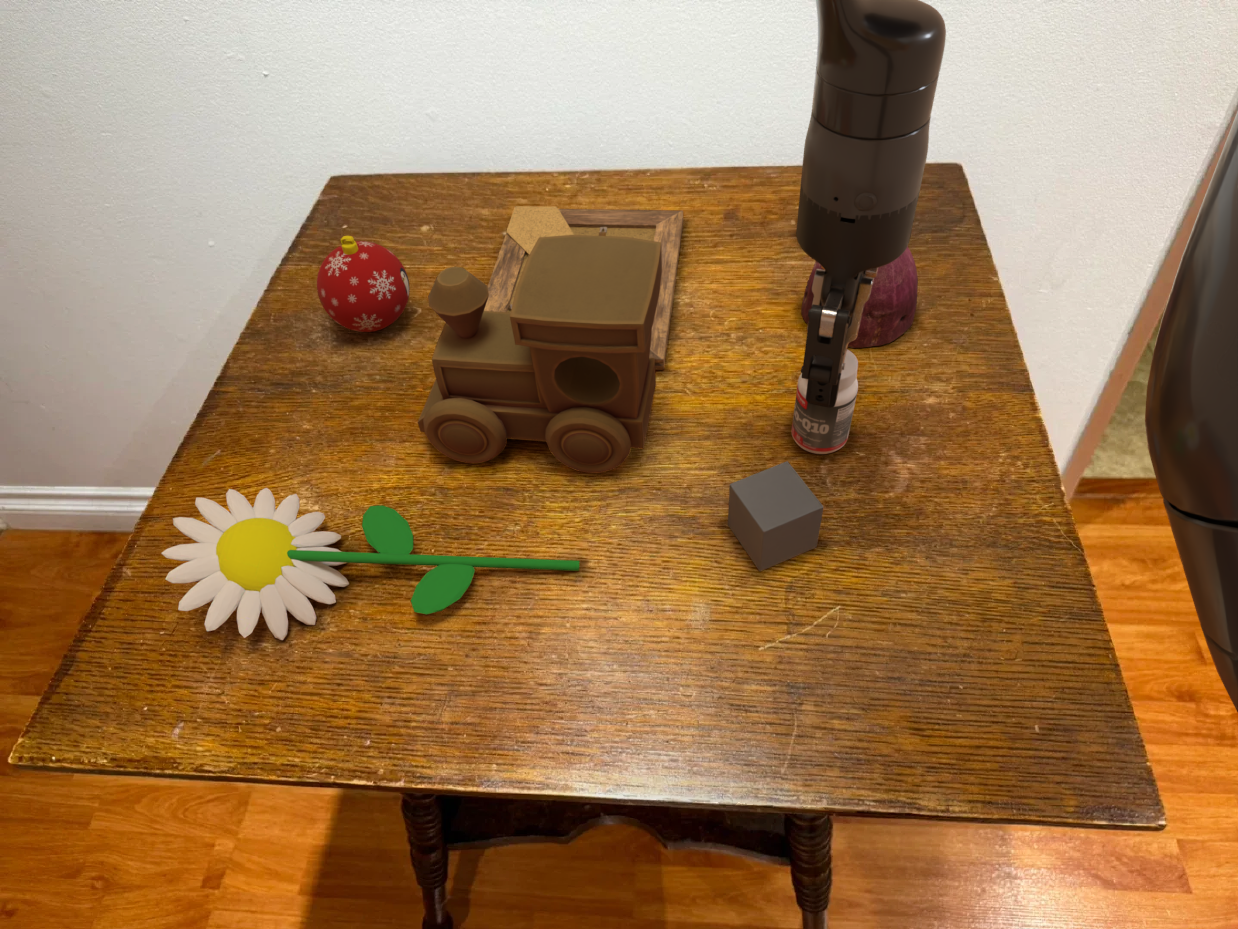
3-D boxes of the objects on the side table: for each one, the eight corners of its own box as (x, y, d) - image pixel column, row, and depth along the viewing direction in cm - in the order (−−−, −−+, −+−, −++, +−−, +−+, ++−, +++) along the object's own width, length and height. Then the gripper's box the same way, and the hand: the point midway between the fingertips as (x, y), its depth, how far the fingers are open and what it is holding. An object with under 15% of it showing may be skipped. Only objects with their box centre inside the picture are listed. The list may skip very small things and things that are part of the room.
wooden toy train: (669, 389, 80) (665, 231, 67) (652, 486, 73) (643, 329, 60) (457, 374, 83) (414, 221, 70) (420, 467, 76) (365, 314, 63)
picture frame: (516, 219, 99) (467, 364, 84) (514, 205, 98) (463, 350, 82) (683, 222, 97) (664, 371, 81) (683, 208, 95) (663, 357, 80)
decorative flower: (580, 518, 74) (209, 503, 72) (582, 483, 70) (191, 467, 68) (575, 660, 66) (159, 647, 64) (577, 629, 62) (135, 615, 60)
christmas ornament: (344, 295, 92) (312, 211, 85) (425, 293, 91) (401, 208, 84) (323, 351, 86) (287, 266, 79) (409, 349, 86) (382, 263, 78)
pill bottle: (779, 435, 75) (787, 362, 69) (815, 406, 77) (825, 333, 71) (824, 464, 73) (836, 391, 67) (859, 434, 75) (875, 360, 69)
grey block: (817, 547, 68) (824, 506, 64) (759, 572, 66) (763, 532, 63) (782, 501, 71) (787, 460, 67) (727, 524, 70) (729, 483, 66)
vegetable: (883, 381, 83) (919, 285, 70) (782, 338, 86) (798, 237, 72) (927, 298, 87) (970, 191, 73) (829, 259, 89) (852, 149, 76)
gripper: (826, 118, 62) (805, 302, 75) (775, 231, 54) (761, 418, 66) (936, 130, 60) (897, 318, 72) (902, 250, 52) (864, 440, 64)
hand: (832, 366), depth 69 cm, fingers open, 8 cm apart
